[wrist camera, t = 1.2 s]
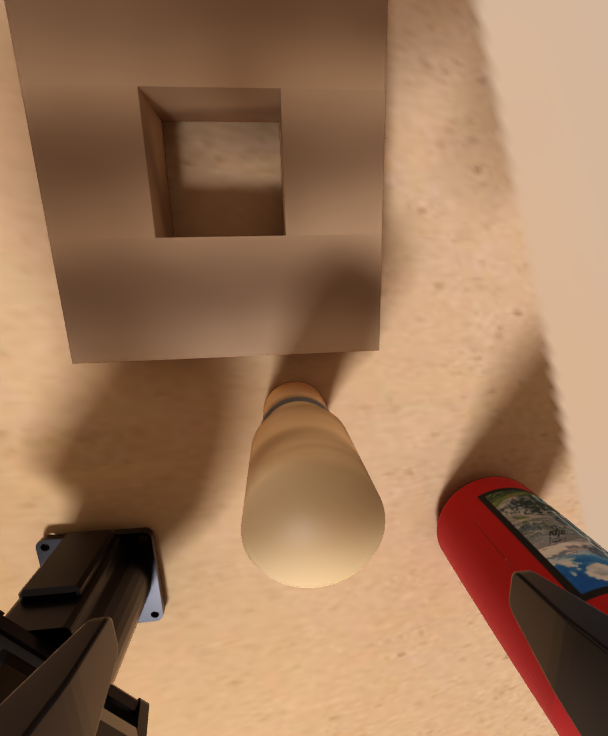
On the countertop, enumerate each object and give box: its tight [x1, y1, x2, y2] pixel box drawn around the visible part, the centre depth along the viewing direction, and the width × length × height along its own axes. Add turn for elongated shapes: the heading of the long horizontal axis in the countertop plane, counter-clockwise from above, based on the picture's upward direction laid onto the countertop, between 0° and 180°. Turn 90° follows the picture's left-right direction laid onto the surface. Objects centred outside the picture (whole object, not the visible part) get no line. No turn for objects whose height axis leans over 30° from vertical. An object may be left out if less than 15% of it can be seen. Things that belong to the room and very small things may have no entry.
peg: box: [241, 382, 385, 588], centre depth 16 cm, size 4×4×10 cm
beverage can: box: [437, 477, 608, 736], centre depth 17 cm, size 7×7×12 cm
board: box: [4, 0, 388, 364], centre depth 16 cm, size 16×14×3 cm
